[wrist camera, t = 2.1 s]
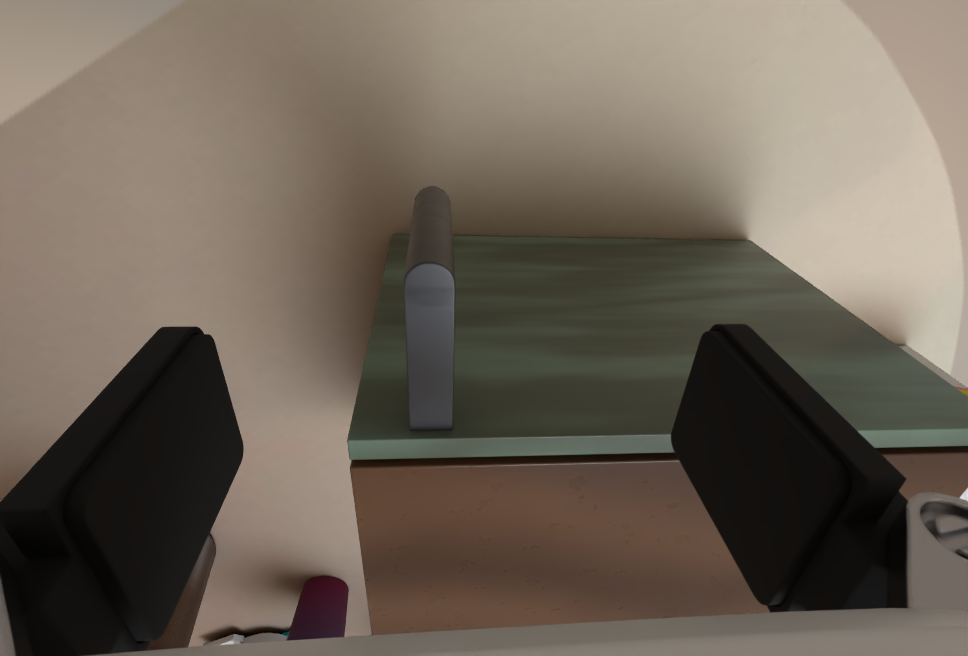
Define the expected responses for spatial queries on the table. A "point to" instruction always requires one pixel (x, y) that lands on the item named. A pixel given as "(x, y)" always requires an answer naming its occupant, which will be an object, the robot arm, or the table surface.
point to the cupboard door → (603, 345)
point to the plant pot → (188, 603)
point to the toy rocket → (249, 639)
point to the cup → (320, 610)
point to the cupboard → (560, 538)
